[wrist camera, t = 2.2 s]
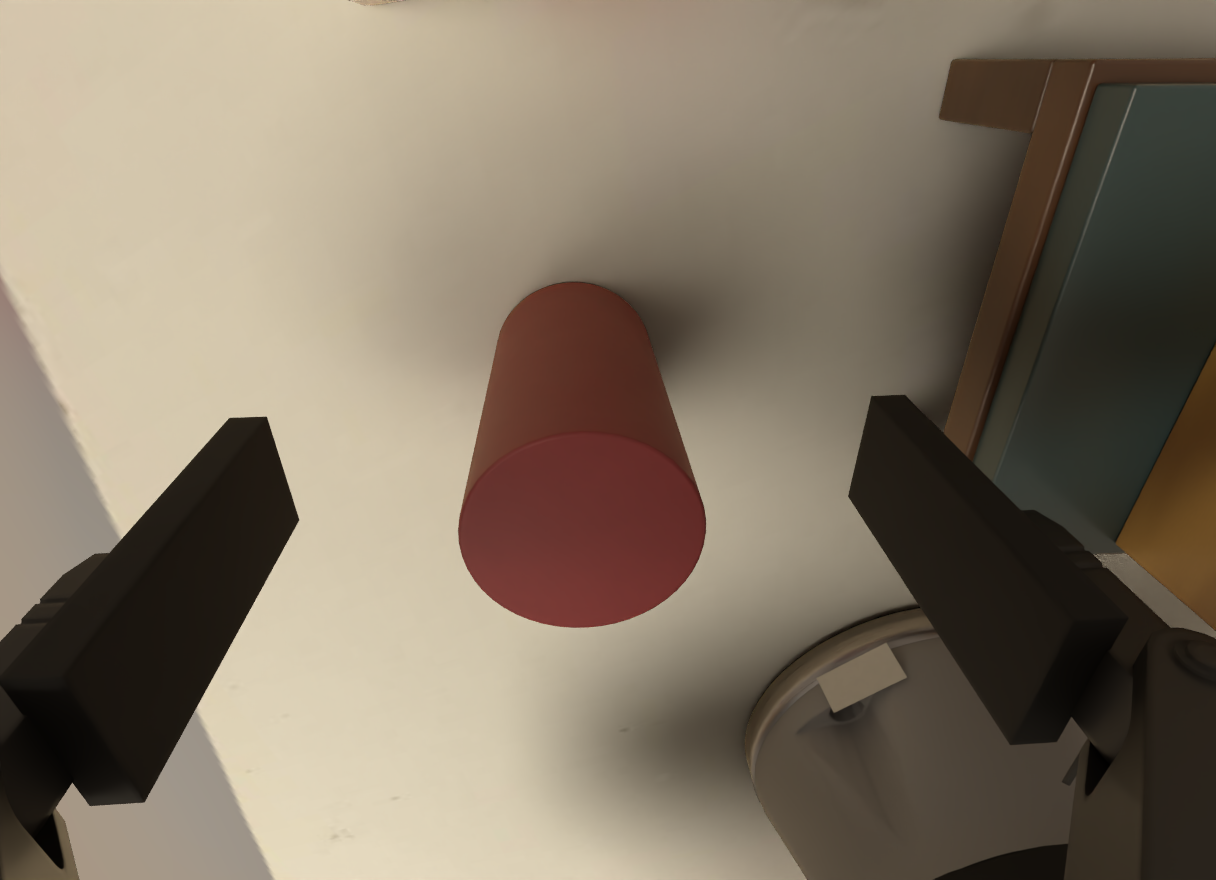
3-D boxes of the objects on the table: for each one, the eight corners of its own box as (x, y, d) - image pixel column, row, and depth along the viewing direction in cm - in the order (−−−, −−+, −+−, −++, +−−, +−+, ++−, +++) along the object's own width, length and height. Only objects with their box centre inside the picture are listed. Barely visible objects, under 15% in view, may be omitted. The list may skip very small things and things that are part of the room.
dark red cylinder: (648, 421, 22) (698, 623, 14) (503, 426, 21) (472, 635, 14) (652, 279, 19) (716, 427, 11) (489, 283, 19) (441, 437, 11)
